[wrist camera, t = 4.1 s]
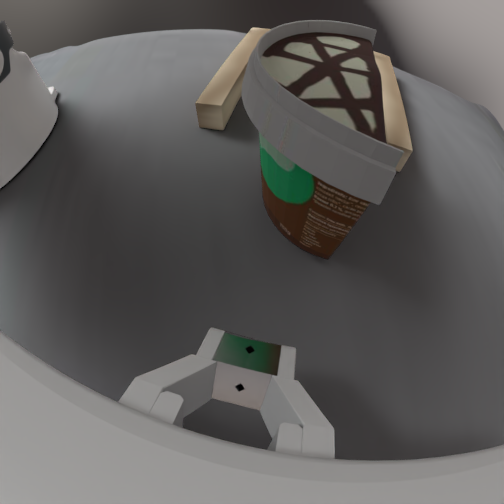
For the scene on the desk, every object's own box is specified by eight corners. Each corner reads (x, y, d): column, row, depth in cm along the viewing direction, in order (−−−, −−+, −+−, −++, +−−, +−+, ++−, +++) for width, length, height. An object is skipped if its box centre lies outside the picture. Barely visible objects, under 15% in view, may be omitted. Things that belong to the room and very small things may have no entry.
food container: (267, 119, 21) (274, 6, 12) (342, 136, 21) (375, 27, 12) (218, 257, 16) (187, 116, 7) (323, 283, 16) (405, 165, 7)
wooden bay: (199, 127, 21) (195, 102, 19) (252, 44, 28) (252, 27, 25) (399, 172, 19) (412, 150, 17) (383, 72, 26) (389, 56, 24)
